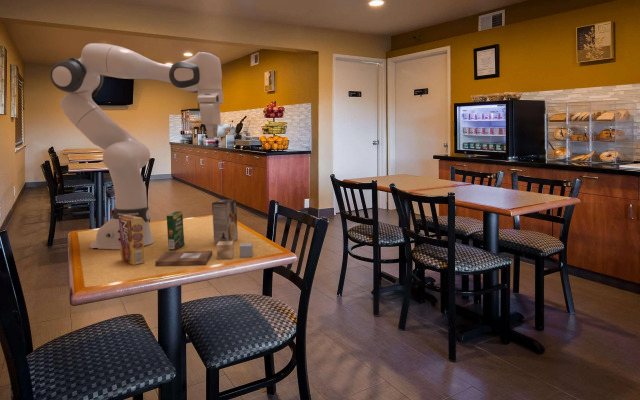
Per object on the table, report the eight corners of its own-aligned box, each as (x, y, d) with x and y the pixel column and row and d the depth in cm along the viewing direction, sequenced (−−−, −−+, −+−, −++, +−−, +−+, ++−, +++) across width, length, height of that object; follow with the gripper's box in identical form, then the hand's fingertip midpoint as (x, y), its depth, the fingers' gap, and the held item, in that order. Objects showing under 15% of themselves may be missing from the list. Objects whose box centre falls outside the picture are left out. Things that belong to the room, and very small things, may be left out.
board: (155, 266, 148) (155, 261, 148) (165, 255, 160) (165, 251, 160) (205, 264, 149) (205, 260, 149) (212, 254, 161) (212, 250, 161)
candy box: (146, 262, 152) (142, 217, 150) (133, 265, 149) (129, 219, 147) (133, 257, 158) (130, 214, 156) (121, 260, 155) (117, 215, 153)
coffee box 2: (175, 250, 167) (173, 215, 165) (167, 250, 167) (165, 215, 165) (185, 245, 175) (183, 211, 173) (177, 245, 175) (175, 211, 173)
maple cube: (217, 259, 156) (216, 245, 155) (219, 255, 161) (218, 241, 160) (232, 259, 156) (231, 244, 155) (233, 255, 161) (233, 241, 160)
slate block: (240, 257, 158) (239, 246, 157) (241, 254, 162) (240, 243, 161) (251, 257, 158) (251, 246, 157) (252, 254, 162) (252, 243, 161)
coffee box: (223, 238, 185) (221, 198, 182) (238, 239, 184) (236, 199, 181) (213, 244, 176) (211, 202, 174) (229, 244, 175) (227, 203, 172)
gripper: (206, 100, 176) (208, 137, 179) (196, 96, 156) (198, 138, 158) (223, 100, 177) (225, 136, 179) (214, 96, 157) (217, 137, 159)
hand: (212, 137), depth 168 cm, fingers open, 8 cm apart
